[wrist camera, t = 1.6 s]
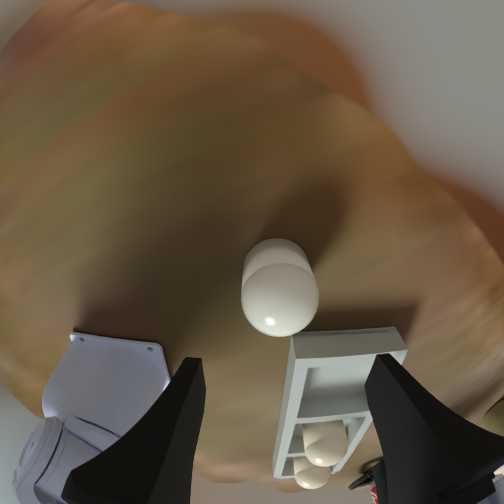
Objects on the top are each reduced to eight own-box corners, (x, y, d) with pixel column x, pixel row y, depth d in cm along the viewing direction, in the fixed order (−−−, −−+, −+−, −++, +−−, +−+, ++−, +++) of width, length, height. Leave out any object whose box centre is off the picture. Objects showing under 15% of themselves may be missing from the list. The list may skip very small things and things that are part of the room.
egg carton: (272, 461, 32) (273, 499, 26) (291, 331, 22) (301, 396, 16) (334, 456, 32) (341, 492, 26) (394, 326, 22) (424, 380, 16)
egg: (243, 295, 20) (239, 352, 15) (243, 237, 19) (238, 283, 13) (305, 296, 20) (319, 351, 15) (311, 238, 19) (332, 284, 13)
